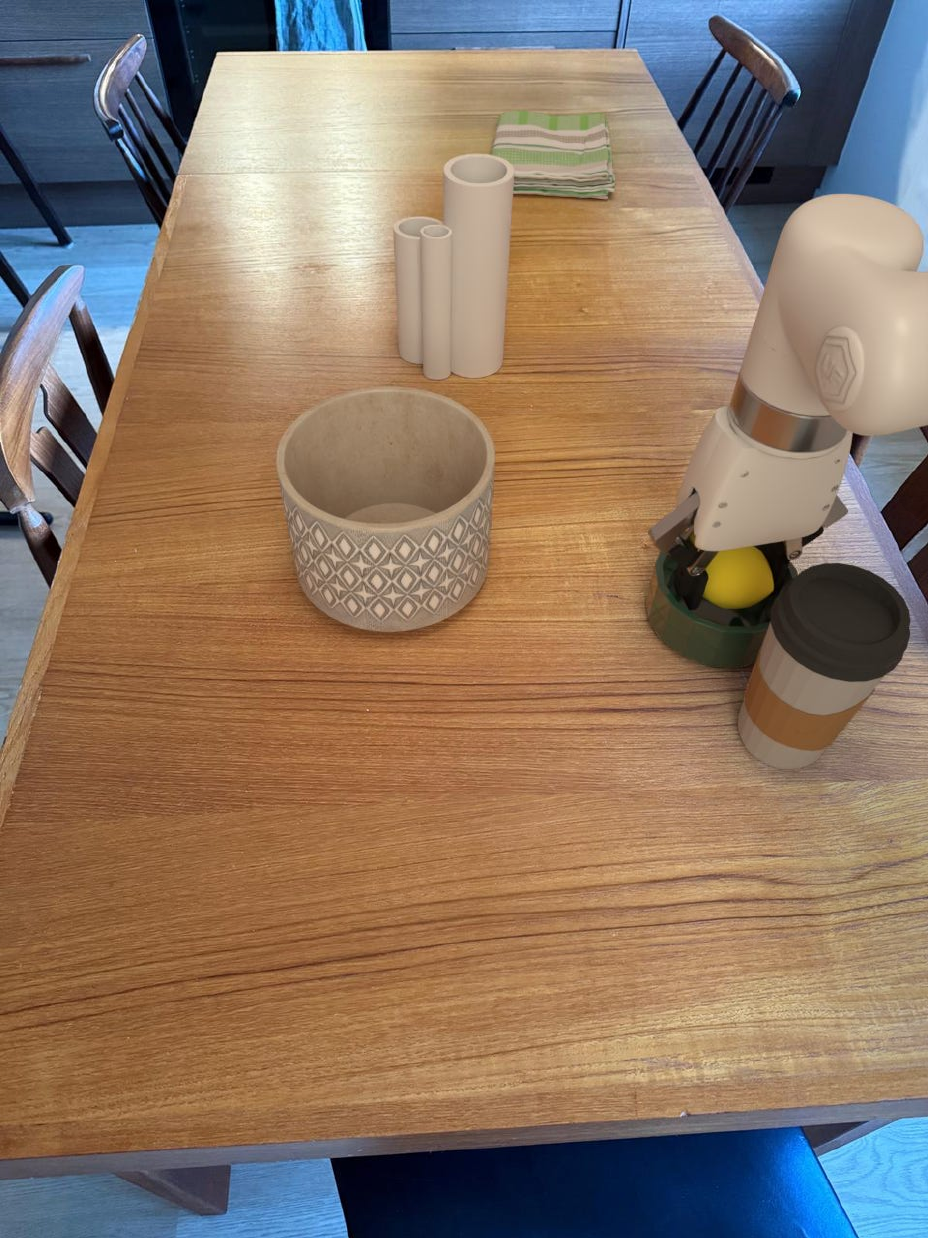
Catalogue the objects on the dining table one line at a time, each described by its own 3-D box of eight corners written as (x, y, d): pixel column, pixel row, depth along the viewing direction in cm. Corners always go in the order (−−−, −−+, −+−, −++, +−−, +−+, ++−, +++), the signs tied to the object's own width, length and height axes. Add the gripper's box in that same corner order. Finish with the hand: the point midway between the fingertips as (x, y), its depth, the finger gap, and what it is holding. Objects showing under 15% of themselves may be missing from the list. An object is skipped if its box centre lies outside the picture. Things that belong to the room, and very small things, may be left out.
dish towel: (485, 195, 120) (486, 168, 117) (494, 123, 135) (495, 98, 132) (614, 202, 119) (618, 175, 117) (609, 129, 134) (612, 104, 131)
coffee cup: (768, 671, 71) (832, 537, 59) (858, 741, 67) (946, 613, 55) (699, 728, 67) (752, 598, 55) (790, 806, 63) (868, 683, 52)
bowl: (809, 620, 74) (829, 580, 70) (727, 696, 69) (744, 657, 65) (700, 548, 79) (713, 506, 75) (617, 613, 74) (627, 572, 70)
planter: (519, 537, 79) (530, 422, 70) (433, 671, 70) (432, 559, 60) (359, 479, 84) (348, 364, 74) (258, 598, 74) (230, 483, 65)
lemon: (773, 590, 72) (793, 543, 68) (753, 636, 69) (773, 589, 65) (690, 559, 74) (705, 511, 70) (668, 602, 71) (682, 555, 67)
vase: (502, 342, 99) (513, 153, 83) (503, 381, 94) (515, 190, 78) (400, 339, 98) (392, 150, 83) (395, 378, 94) (386, 186, 78)
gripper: (883, 354, 61) (801, 541, 75) (645, 385, 58) (606, 572, 72) (944, 423, 56) (845, 608, 70) (688, 459, 54) (638, 644, 68)
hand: (724, 588), depth 71 cm, fingers closed on lemon, 5 cm apart
